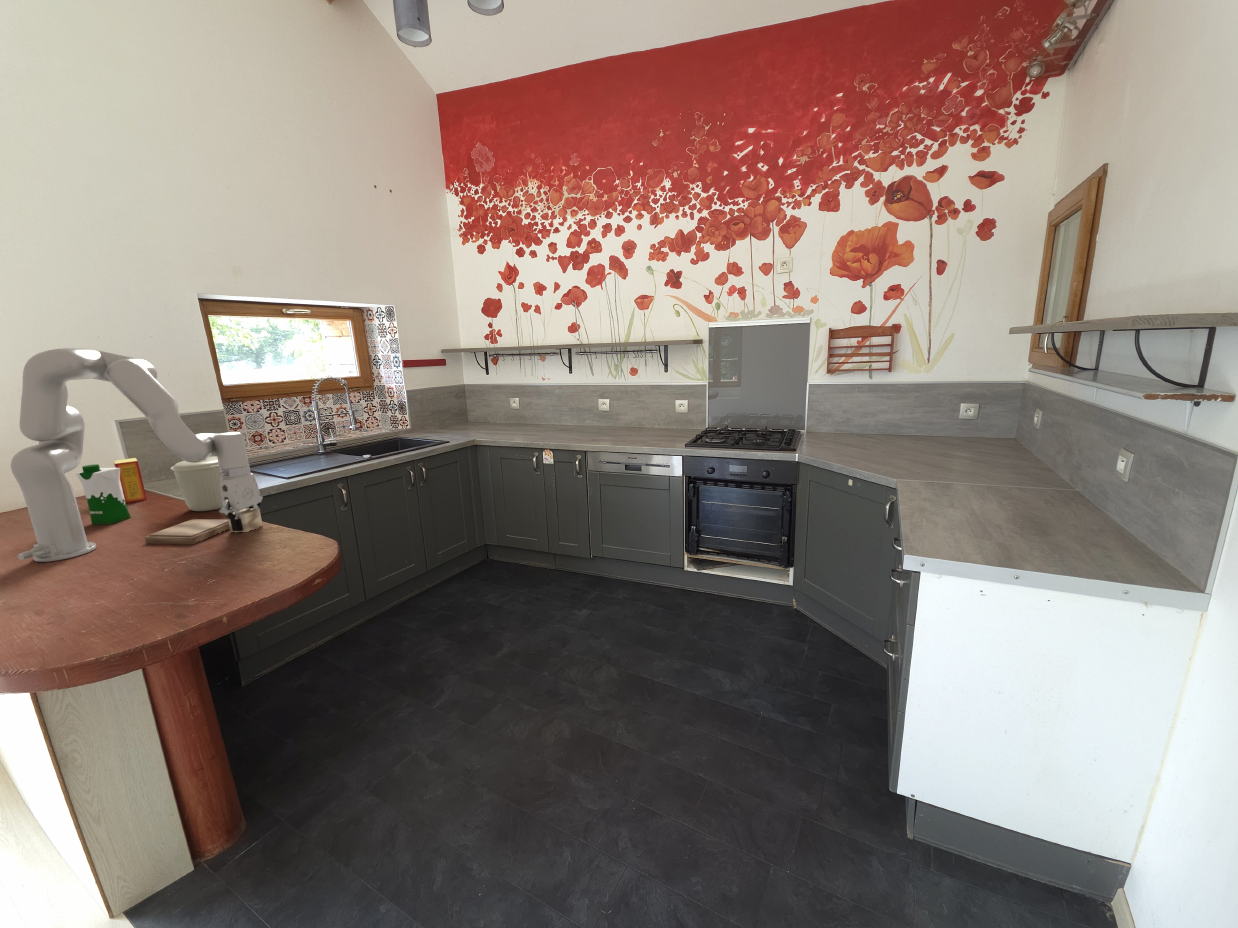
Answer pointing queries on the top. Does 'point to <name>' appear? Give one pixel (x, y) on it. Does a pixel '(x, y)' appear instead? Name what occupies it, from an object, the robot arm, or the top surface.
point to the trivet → (188, 532)
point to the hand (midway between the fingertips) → (246, 526)
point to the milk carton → (104, 494)
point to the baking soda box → (131, 480)
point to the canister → (200, 483)
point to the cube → (248, 519)
